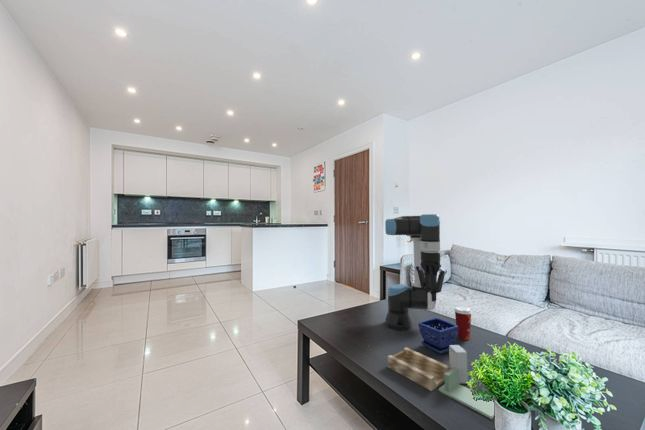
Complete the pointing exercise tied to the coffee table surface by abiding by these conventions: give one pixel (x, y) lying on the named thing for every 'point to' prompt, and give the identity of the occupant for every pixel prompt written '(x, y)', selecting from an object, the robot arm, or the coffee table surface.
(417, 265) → the robot arm
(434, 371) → the oak box
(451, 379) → the lid
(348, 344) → the coffee table surface
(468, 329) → the coffee cup
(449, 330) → the flower pot
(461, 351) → the skincare box
